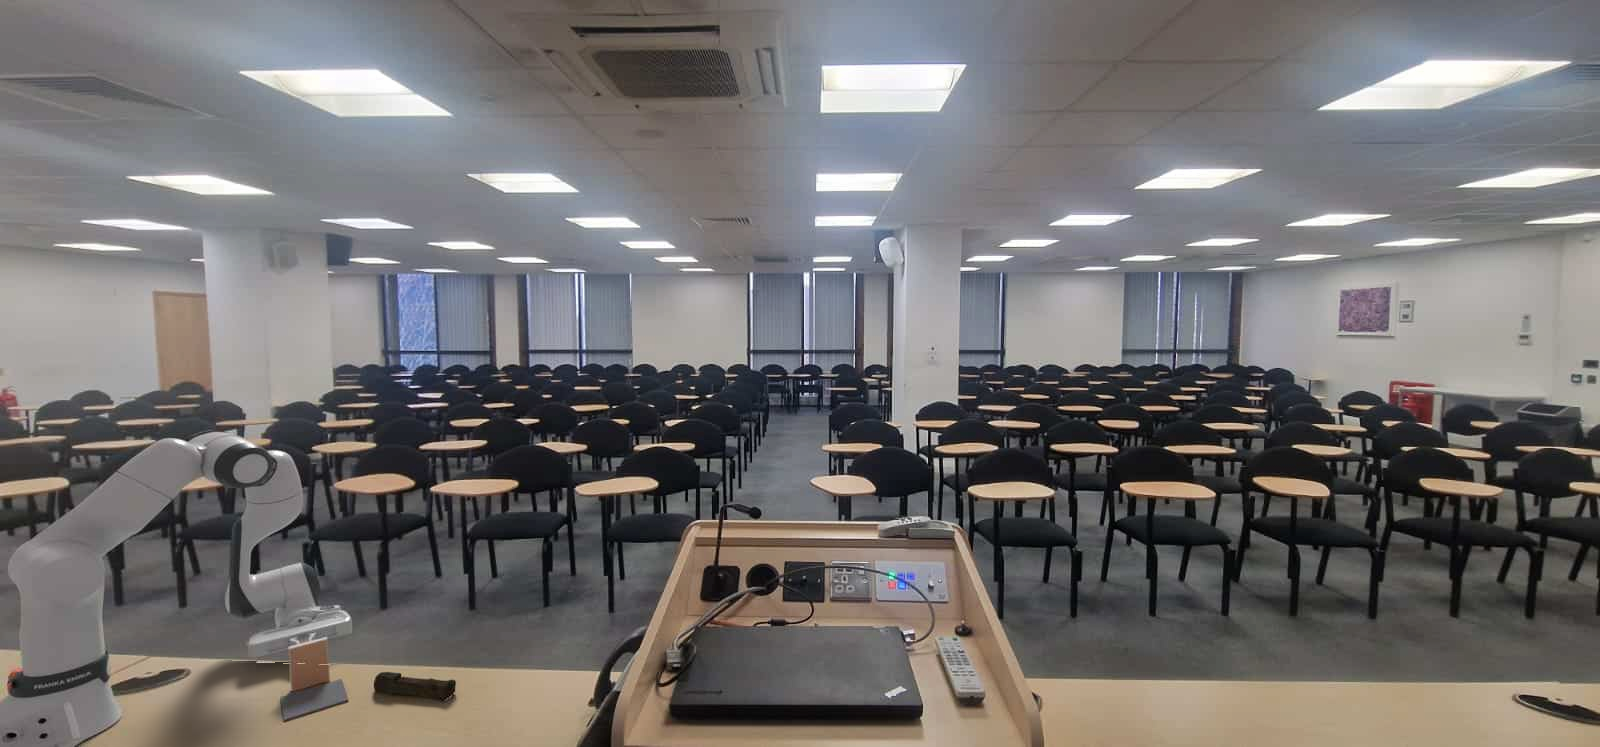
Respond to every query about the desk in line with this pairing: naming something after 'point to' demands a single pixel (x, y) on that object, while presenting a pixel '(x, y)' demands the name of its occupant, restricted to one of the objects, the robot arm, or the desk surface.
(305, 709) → the mat
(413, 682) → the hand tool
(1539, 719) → the desk surface
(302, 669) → the tile
